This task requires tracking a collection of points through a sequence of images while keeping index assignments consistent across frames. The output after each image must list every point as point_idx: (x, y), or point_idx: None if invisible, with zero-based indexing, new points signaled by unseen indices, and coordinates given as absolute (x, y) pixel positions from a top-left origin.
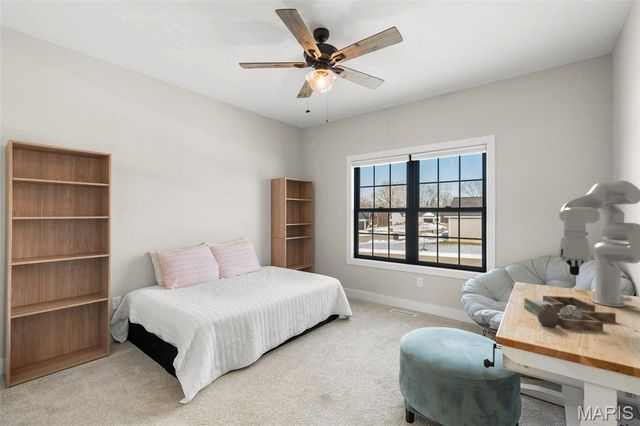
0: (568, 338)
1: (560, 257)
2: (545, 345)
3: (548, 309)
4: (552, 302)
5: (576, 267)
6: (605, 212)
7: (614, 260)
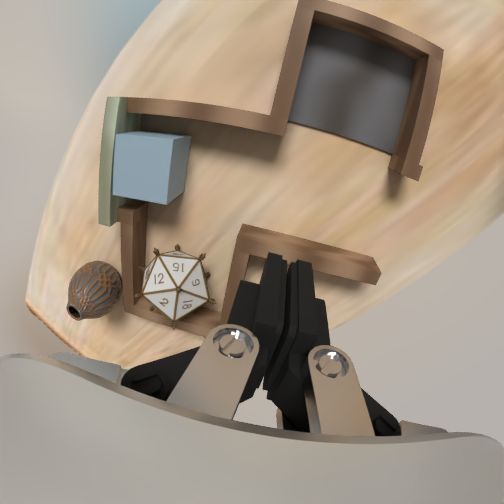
0: (116, 335)
1: (24, 362)
2: (71, 341)
3: (76, 313)
4: (239, 109)
5: (265, 381)
6: None
7: None
